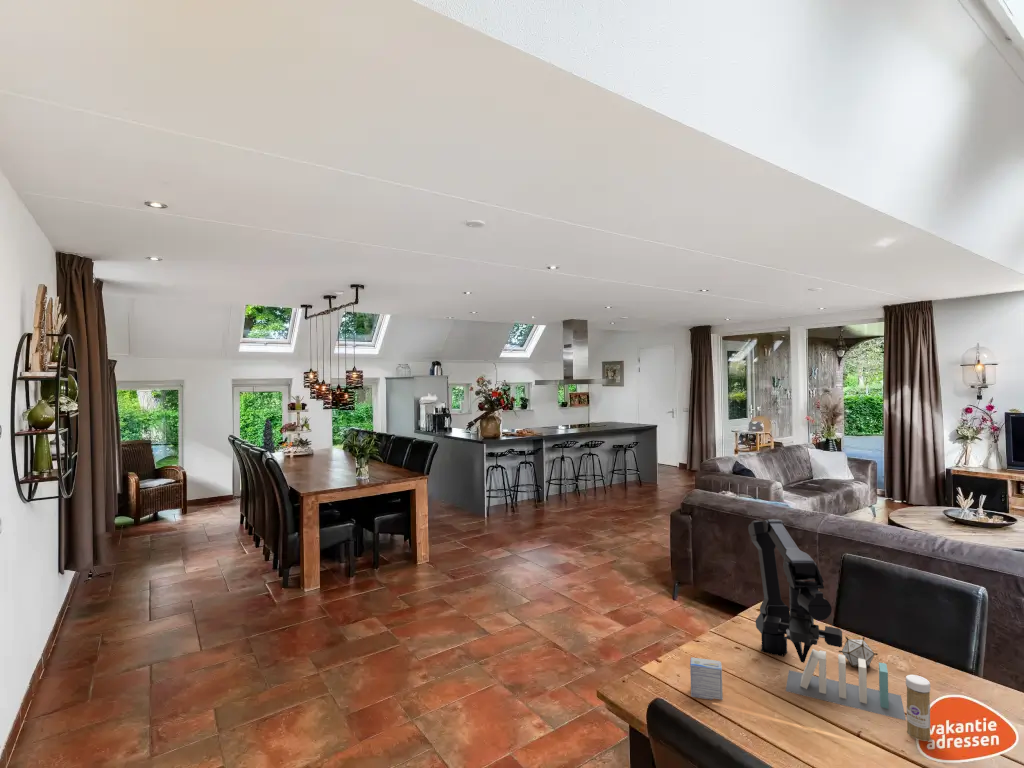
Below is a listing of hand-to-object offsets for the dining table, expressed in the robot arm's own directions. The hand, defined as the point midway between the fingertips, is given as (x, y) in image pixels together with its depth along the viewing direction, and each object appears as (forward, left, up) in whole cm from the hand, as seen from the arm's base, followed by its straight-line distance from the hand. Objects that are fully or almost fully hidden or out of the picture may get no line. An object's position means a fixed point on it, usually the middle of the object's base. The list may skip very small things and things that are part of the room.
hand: (802, 661), depth 147 cm
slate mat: (+9, 0, -7) cm, 11 cm away
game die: (+13, +19, -7) cm, 24 cm away
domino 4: (+14, 0, -6) cm, 15 cm away
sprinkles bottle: (+24, -11, -7) cm, 27 cm away
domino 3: (+9, 0, -6) cm, 11 cm away
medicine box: (-22, -17, -7) cm, 28 cm away
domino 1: (0, 0, -6) cm, 6 cm away
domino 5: (+18, 0, -6) cm, 19 cm away
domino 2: (+5, 0, -6) cm, 8 cm away
